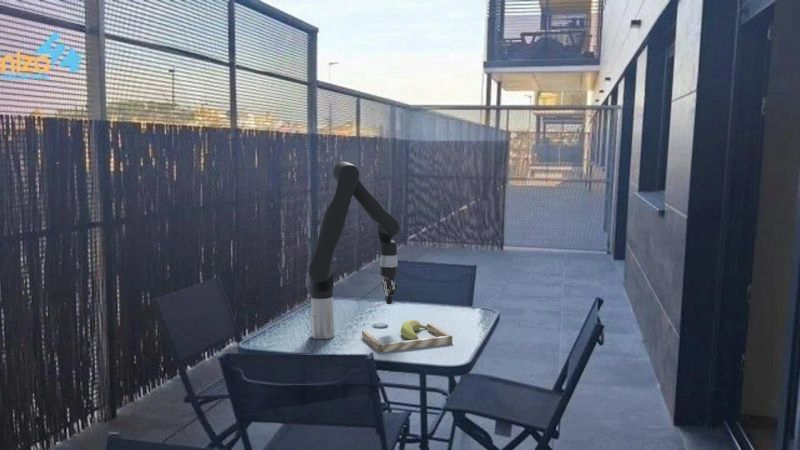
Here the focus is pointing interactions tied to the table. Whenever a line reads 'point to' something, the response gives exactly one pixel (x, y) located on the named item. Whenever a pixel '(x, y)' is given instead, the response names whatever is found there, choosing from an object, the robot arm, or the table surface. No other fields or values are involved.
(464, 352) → the table surface
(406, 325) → the banana
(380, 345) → the wooden rimmed tray
